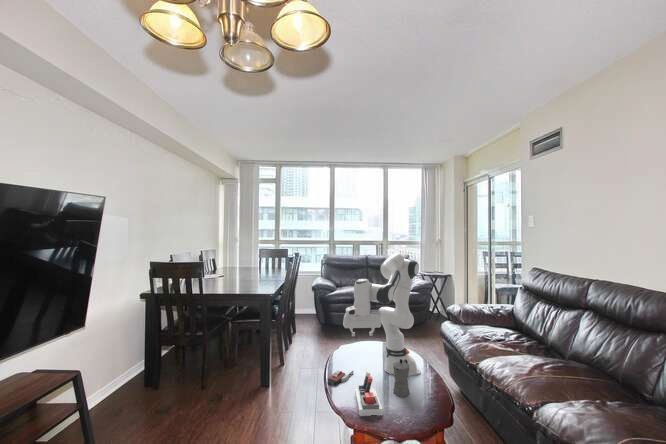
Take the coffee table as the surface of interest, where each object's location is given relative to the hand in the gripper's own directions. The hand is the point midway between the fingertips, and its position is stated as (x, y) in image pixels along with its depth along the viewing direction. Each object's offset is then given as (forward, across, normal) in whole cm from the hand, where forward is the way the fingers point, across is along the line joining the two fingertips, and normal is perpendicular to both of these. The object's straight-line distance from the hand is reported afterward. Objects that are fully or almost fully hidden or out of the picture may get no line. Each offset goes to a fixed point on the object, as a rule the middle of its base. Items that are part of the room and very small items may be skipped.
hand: (362, 335), depth 159 cm
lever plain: (+30, -1, -2) cm, 30 cm away
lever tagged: (+30, -1, +4) cm, 30 cm away
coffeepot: (+33, -23, -6) cm, 41 cm away
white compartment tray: (+33, -2, +5) cm, 34 cm away
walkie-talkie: (+34, +10, -23) cm, 42 cm away
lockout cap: (+30, -2, +10) cm, 32 cm away
